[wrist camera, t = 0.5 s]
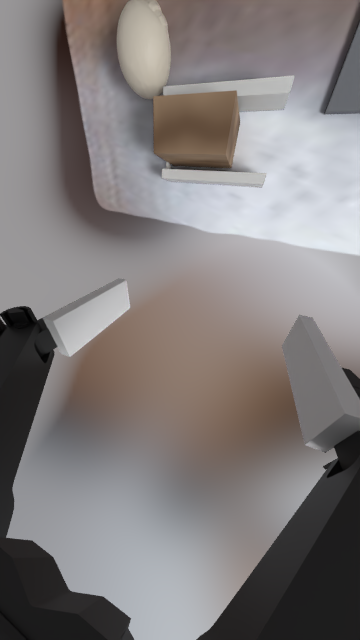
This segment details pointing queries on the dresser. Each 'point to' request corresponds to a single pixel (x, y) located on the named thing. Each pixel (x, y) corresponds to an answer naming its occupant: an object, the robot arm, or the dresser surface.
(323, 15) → the dresser surface
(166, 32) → the cream piece
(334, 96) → the felt pad
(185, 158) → the panel
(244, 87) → the rack
